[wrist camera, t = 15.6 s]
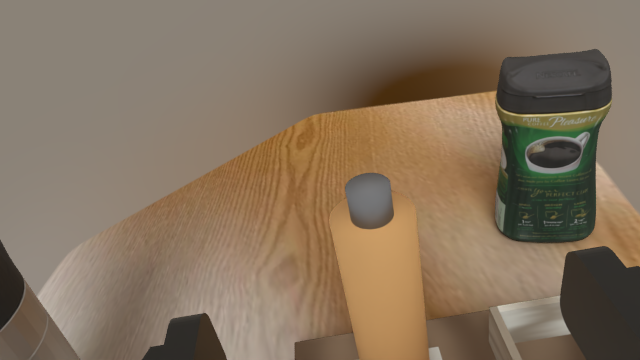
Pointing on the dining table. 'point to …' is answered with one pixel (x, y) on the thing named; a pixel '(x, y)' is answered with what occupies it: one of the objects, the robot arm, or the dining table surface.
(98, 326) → the dining table surface
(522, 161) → the coffee jar
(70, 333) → the dining table surface
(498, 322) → the board
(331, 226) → the tall tan cylinder
